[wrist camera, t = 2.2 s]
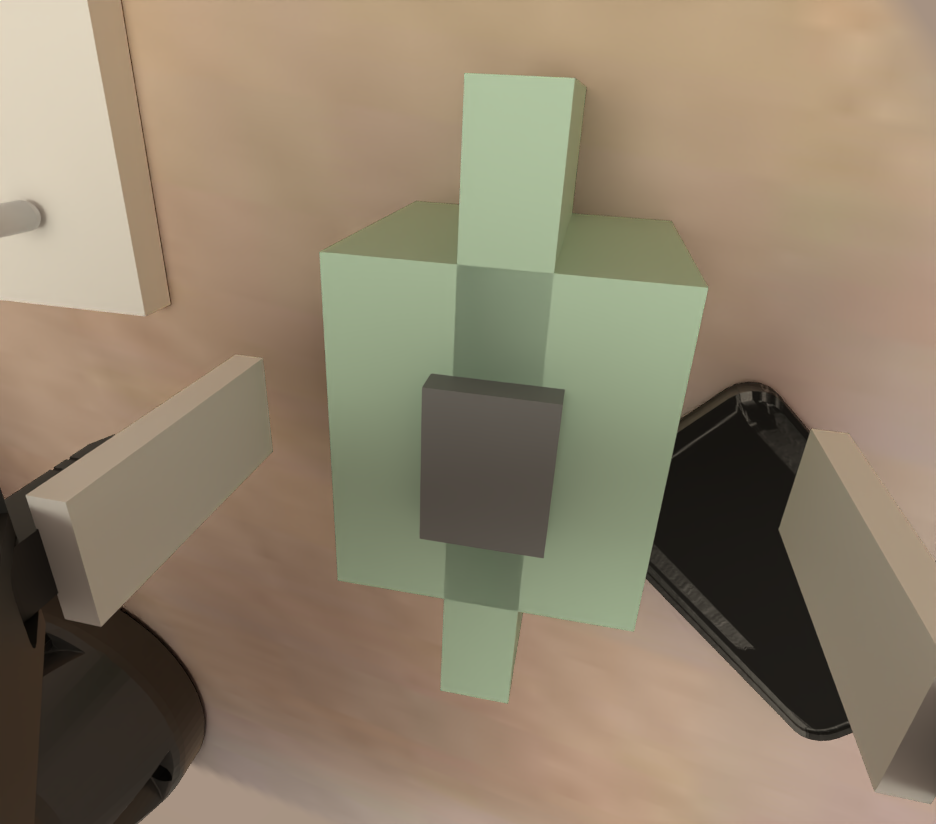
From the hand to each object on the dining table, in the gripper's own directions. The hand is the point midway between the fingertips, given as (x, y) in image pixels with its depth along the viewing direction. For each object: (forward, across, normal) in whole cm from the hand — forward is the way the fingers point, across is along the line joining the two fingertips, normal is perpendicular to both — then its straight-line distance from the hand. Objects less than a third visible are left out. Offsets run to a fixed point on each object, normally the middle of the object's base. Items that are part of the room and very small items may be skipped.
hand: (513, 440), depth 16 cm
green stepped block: (+7, -1, 0) cm, 7 cm away
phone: (+8, +10, -8) cm, 15 cm away
